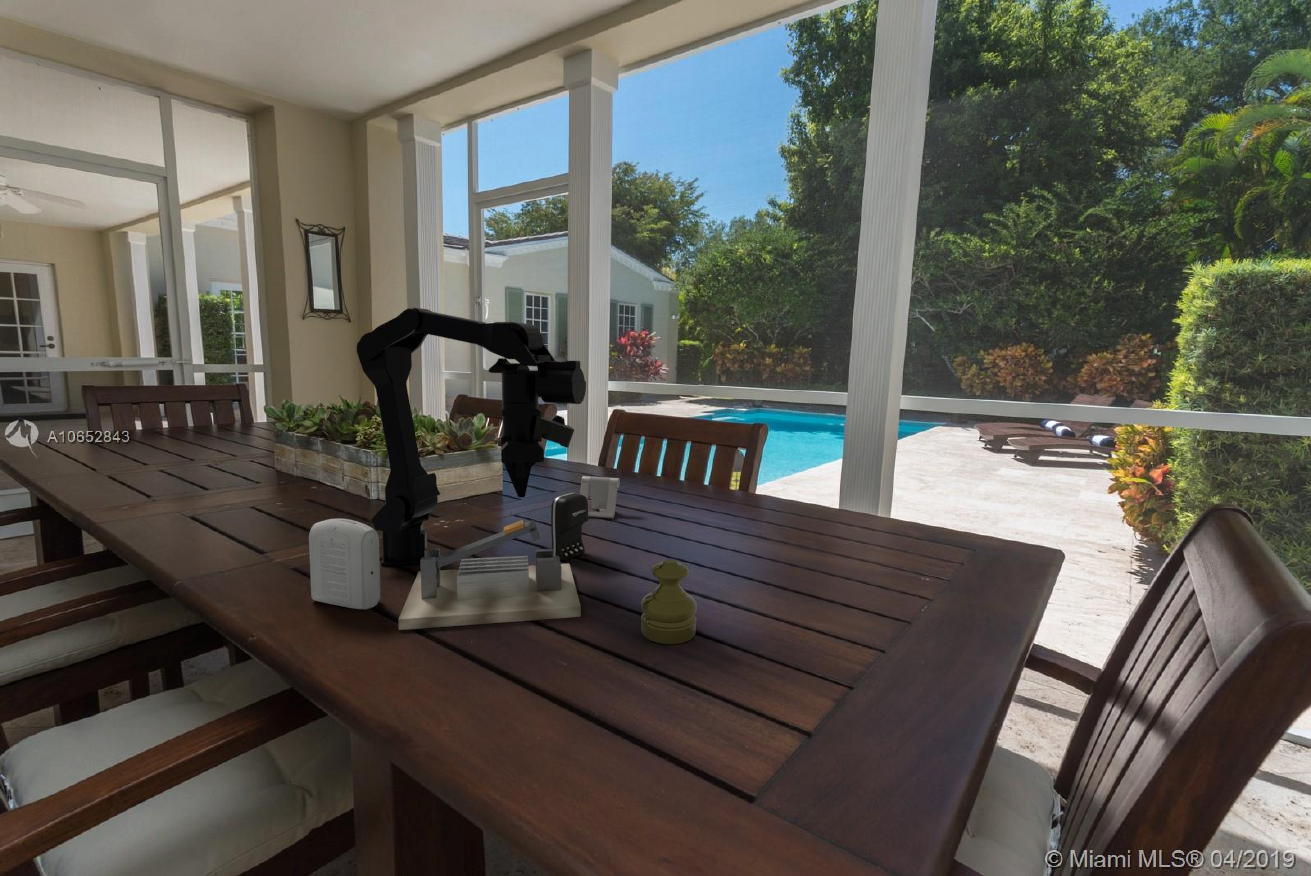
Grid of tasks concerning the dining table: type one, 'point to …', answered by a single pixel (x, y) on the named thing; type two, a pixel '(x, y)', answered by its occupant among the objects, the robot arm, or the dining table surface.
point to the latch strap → (490, 542)
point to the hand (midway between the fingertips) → (521, 496)
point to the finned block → (493, 578)
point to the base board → (488, 604)
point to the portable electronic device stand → (601, 494)
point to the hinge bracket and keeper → (545, 572)
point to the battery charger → (568, 525)
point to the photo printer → (344, 563)
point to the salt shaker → (669, 606)
